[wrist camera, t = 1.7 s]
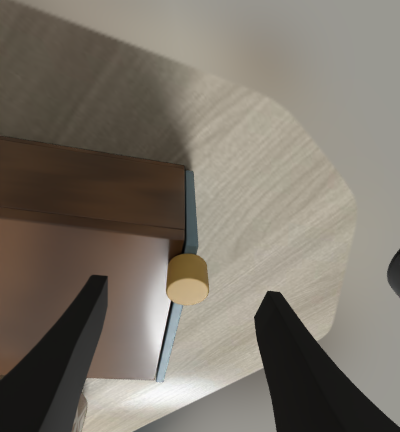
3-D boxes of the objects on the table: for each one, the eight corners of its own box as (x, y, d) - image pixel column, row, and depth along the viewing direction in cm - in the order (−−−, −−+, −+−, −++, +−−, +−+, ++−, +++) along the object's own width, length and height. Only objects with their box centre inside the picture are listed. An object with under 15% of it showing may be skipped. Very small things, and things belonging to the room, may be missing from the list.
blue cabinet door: (202, 172, 20) (216, 272, 12) (175, 297, 28) (171, 406, 20) (175, 168, 19) (170, 267, 11) (155, 295, 27) (144, 405, 19)
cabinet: (184, 165, 20) (185, 239, 13) (161, 293, 28) (154, 381, 21) (-21, 132, 18) (-153, 199, 11) (20, 281, 26) (-40, 373, 19)
